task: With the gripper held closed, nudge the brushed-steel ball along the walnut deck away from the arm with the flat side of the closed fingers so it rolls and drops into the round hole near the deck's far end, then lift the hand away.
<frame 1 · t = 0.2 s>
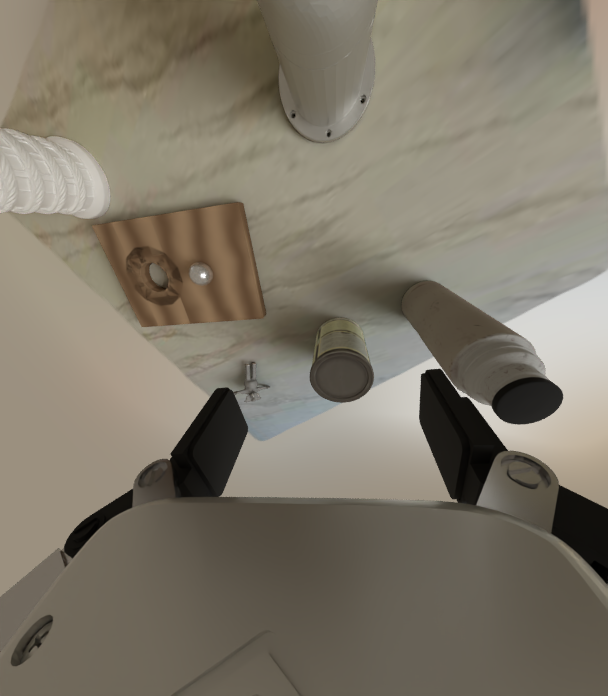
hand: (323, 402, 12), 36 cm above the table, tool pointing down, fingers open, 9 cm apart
deck: (189, 271, 46), on the table
grey toy figure: (252, 376, 58), on the table
decorative container: (79, 181, 41), on the table
coffee can: (339, 338, 50), on the table
ball: (200, 274, 42), point 4 cm above the table, touching deck
thermos bottle: (423, 301, 44), on the table
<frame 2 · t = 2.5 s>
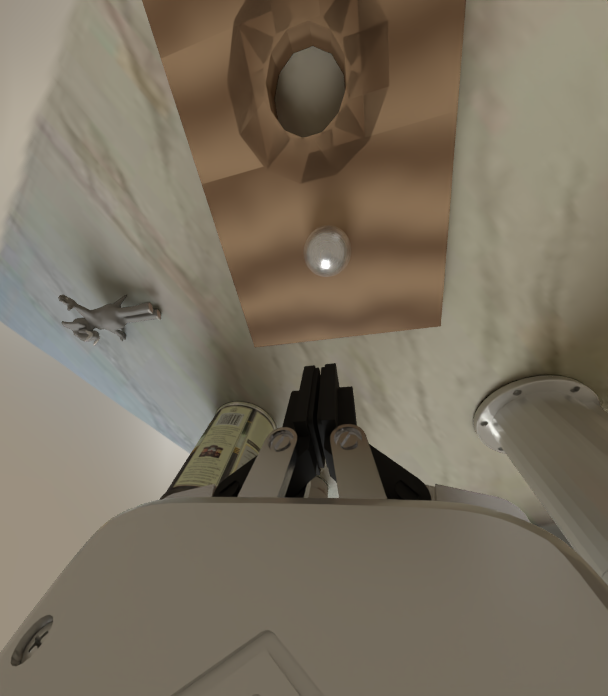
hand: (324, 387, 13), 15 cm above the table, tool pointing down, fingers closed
deck: (321, 188, 21), on the table
grey toy figure: (130, 306, 30), on the table
coffee can: (246, 424, 38), on the table
ball: (327, 252, 20), point 4 cm above the table, touching deck
thermos bottle: (306, 485, 44), on the table
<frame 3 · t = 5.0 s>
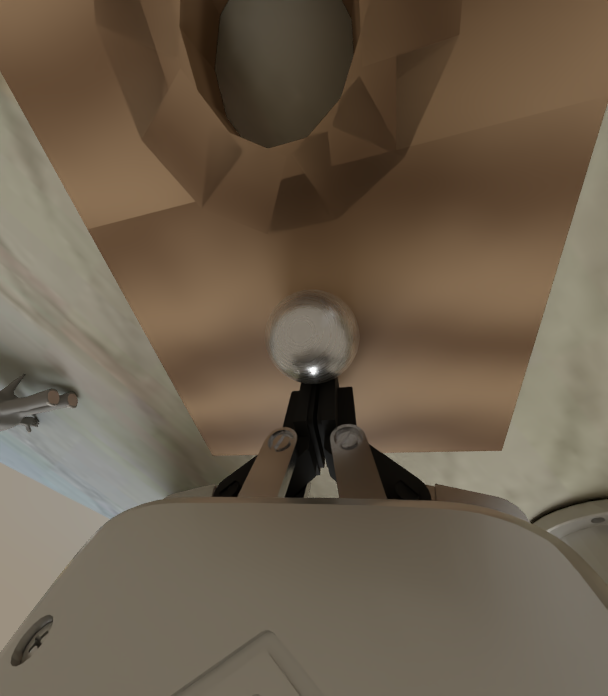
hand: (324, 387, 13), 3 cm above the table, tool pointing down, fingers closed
deck: (309, 234, 12), on the table
grey toy figure: (35, 386, 21), on the table
ball: (311, 337, 10), point 4 cm above the table, tilted 33°, touching deck
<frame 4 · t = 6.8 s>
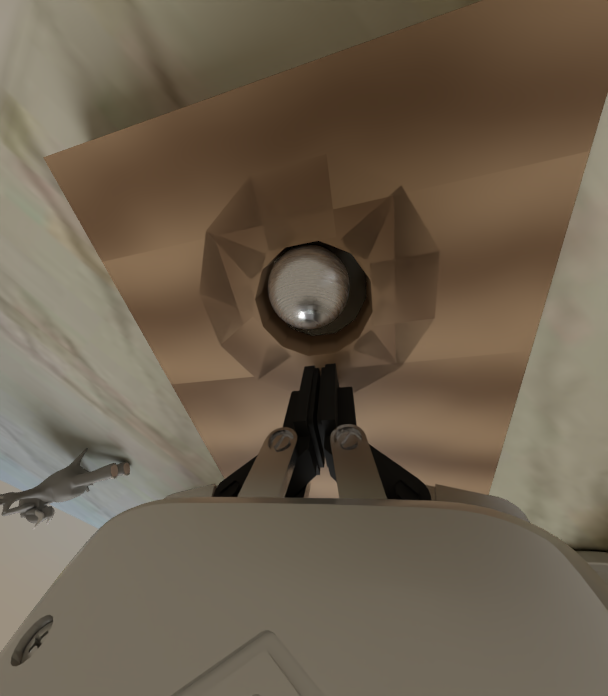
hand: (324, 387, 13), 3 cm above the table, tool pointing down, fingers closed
deck: (330, 375, 16), on the table
grey toy figure: (94, 455, 26), on the table
ball: (308, 288, 12), point 2 cm above the table, tilted 42°
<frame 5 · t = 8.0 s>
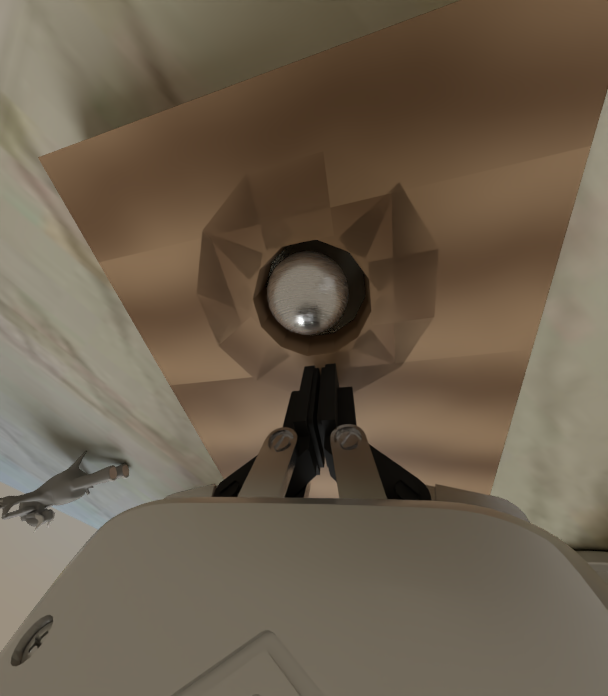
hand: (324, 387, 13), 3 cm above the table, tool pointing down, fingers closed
deck: (330, 375, 16), on the table
grey toy figure: (93, 457, 26), on the table
ball: (307, 294, 12), point 2 cm above the table, tilted 51°
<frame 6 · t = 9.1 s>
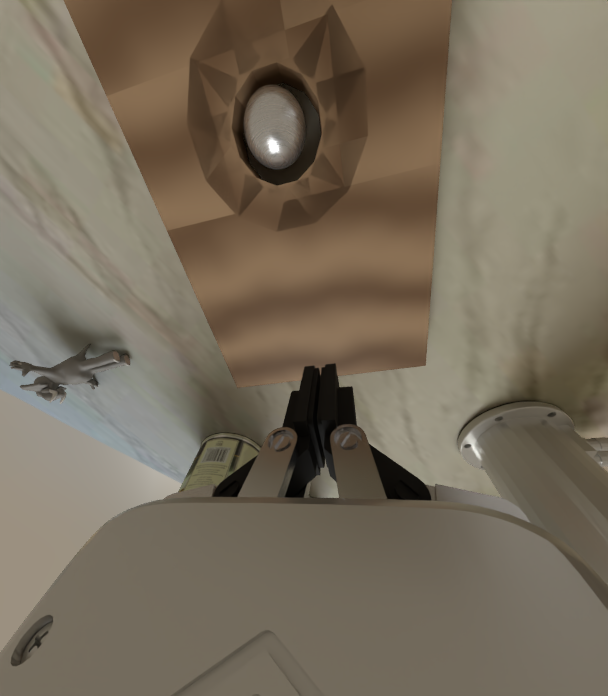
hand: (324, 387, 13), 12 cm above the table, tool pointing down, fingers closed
deck: (299, 230, 20), on the table
grey toy figure: (96, 353, 29), on the table
coffee can: (234, 452, 37), on the table
ball: (275, 130, 15), point 2 cm above the table, tilted 60°
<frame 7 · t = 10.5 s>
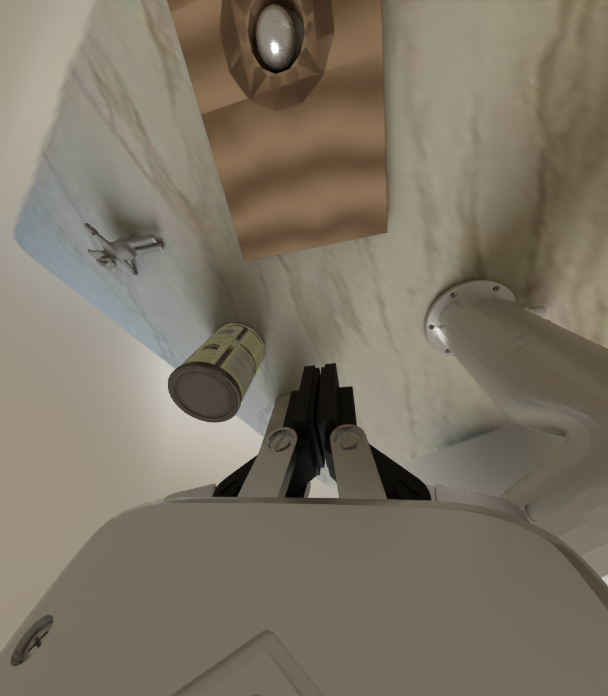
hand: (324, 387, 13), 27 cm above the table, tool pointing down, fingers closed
deck: (292, 120, 28), on the table
grey toy figure: (138, 244, 37), on the table
coffee can: (240, 346, 45), on the table
ball: (276, 39, 24), point 2 cm above the table, tilted 70°
thermos bottle: (293, 407, 51), on the table
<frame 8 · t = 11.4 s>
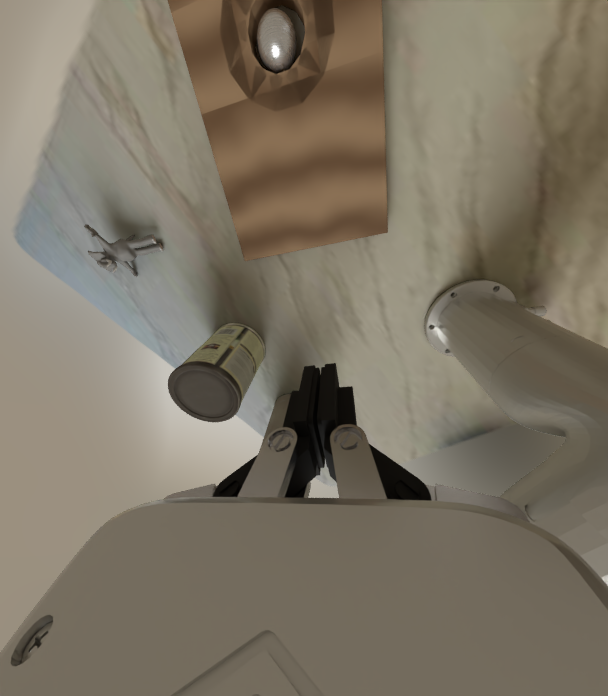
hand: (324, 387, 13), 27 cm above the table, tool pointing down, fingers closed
deck: (293, 120, 28), on the table
grey toy figure: (138, 245, 38), on the table
coffee can: (240, 346, 45), on the table
ball: (276, 42, 24), point 2 cm above the table, tilted 77°
thermos bottle: (293, 407, 51), on the table
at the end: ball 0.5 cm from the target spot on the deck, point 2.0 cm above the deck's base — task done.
